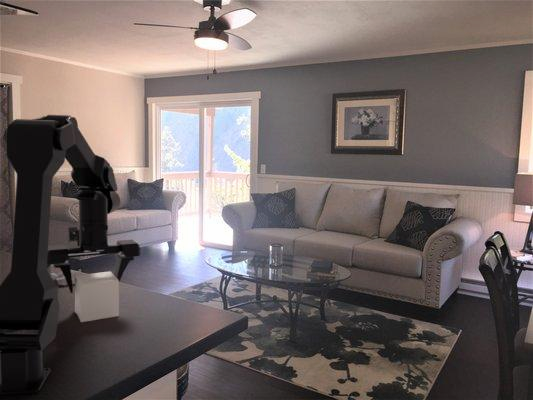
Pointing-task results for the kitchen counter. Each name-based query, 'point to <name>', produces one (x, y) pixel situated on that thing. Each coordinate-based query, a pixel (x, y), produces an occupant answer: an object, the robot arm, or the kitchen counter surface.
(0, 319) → the robot arm
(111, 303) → the cream cube
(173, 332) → the kitchen counter surface
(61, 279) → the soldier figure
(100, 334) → the kitchen counter surface
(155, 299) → the kitchen counter surface
